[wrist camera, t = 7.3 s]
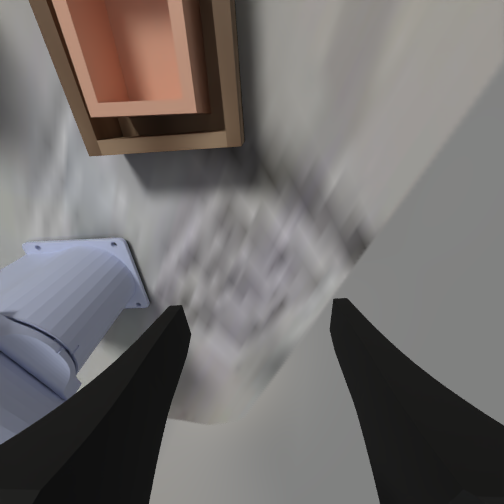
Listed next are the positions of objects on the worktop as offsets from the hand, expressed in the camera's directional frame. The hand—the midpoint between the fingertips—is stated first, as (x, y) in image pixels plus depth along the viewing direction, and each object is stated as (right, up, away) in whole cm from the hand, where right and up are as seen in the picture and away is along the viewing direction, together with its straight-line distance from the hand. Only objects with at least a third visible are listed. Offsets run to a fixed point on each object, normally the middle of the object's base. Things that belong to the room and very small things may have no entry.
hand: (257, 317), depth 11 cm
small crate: (-6, +16, +2) cm, 17 cm away
